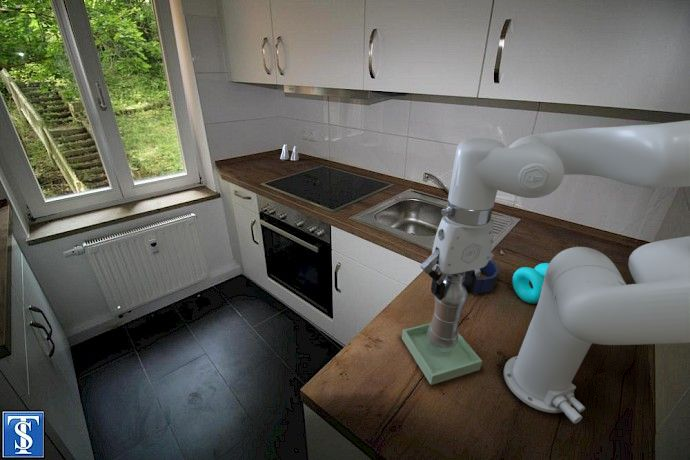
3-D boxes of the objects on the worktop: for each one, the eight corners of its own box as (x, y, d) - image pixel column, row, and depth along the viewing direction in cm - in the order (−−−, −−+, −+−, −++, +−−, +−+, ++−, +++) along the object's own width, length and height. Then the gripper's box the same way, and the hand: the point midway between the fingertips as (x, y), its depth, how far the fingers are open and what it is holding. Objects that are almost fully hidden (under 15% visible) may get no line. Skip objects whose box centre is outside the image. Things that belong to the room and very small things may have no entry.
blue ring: (505, 287, 93) (509, 274, 91) (463, 297, 89) (467, 283, 87) (473, 261, 105) (476, 249, 103) (435, 269, 101) (437, 256, 99)
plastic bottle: (435, 359, 67) (450, 284, 58) (420, 335, 73) (432, 264, 63) (462, 352, 68) (481, 278, 59) (445, 330, 74) (460, 259, 65)
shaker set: (280, 161, 211) (279, 145, 206) (281, 159, 215) (279, 143, 210) (298, 161, 212) (297, 144, 207) (298, 159, 216) (297, 143, 211)
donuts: (506, 289, 92) (515, 261, 88) (533, 283, 95) (543, 255, 90) (534, 312, 84) (545, 282, 79) (562, 304, 87) (575, 275, 82)
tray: (479, 369, 68) (482, 361, 67) (430, 385, 65) (432, 376, 63) (445, 326, 79) (446, 318, 78) (401, 338, 76) (402, 329, 74)
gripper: (437, 227, 50) (423, 313, 58) (524, 214, 54) (499, 295, 63) (413, 209, 56) (404, 289, 64) (493, 198, 61) (475, 274, 69)
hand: (451, 291), depth 63 cm, fingers closed on plastic bottle, 6 cm apart
